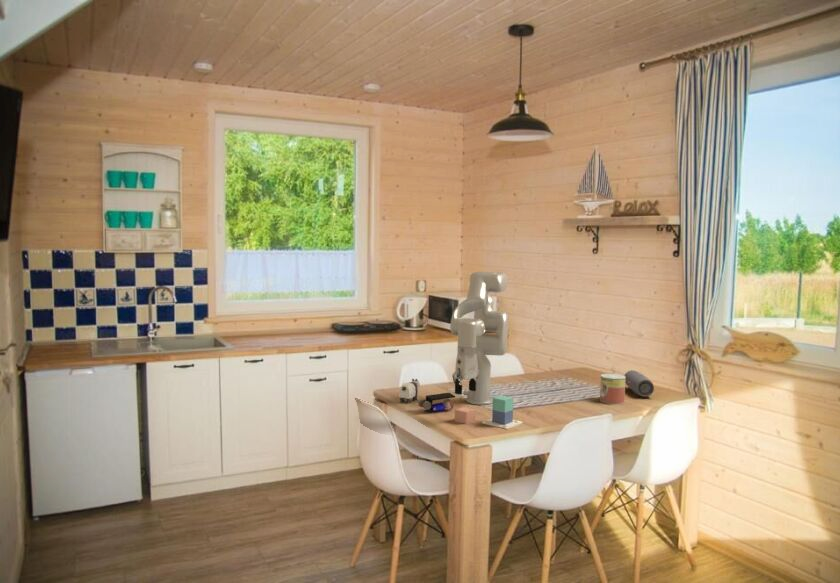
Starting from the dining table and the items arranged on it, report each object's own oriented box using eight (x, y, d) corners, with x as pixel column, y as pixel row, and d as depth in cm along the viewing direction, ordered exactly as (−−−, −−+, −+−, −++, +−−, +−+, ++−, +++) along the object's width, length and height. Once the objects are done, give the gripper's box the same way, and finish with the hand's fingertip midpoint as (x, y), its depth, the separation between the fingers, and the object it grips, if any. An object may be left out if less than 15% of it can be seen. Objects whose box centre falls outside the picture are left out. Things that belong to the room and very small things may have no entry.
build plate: (481, 423, 267) (482, 410, 266) (498, 417, 276) (498, 404, 276) (507, 429, 259) (507, 415, 259) (522, 422, 268) (523, 409, 268)
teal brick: (492, 409, 267) (492, 397, 267) (500, 407, 271) (501, 395, 271) (504, 412, 263) (505, 400, 263) (512, 409, 268) (513, 397, 267)
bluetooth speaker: (622, 388, 336) (622, 369, 335) (640, 388, 336) (641, 369, 335) (635, 399, 313) (635, 378, 312) (654, 399, 313) (655, 378, 312)
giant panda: (408, 404, 296) (408, 383, 295) (397, 402, 298) (398, 382, 297) (423, 397, 308) (423, 377, 308) (413, 396, 311) (413, 376, 310)
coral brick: (454, 421, 270) (455, 409, 269) (463, 418, 274) (464, 406, 274) (466, 424, 266) (466, 412, 265) (475, 421, 270) (475, 409, 270)
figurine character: (425, 418, 279) (456, 411, 285) (423, 400, 278) (455, 394, 284) (418, 414, 285) (449, 407, 291) (417, 397, 284) (448, 390, 290)
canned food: (594, 399, 311) (595, 374, 310) (615, 397, 315) (616, 373, 314) (608, 405, 301) (609, 379, 300) (629, 403, 304) (630, 378, 303)
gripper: (461, 354, 258) (460, 397, 259) (486, 349, 272) (484, 390, 272) (446, 351, 263) (445, 394, 264) (471, 347, 276) (470, 388, 277)
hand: (465, 392), depth 268 cm, fingers open, 9 cm apart
